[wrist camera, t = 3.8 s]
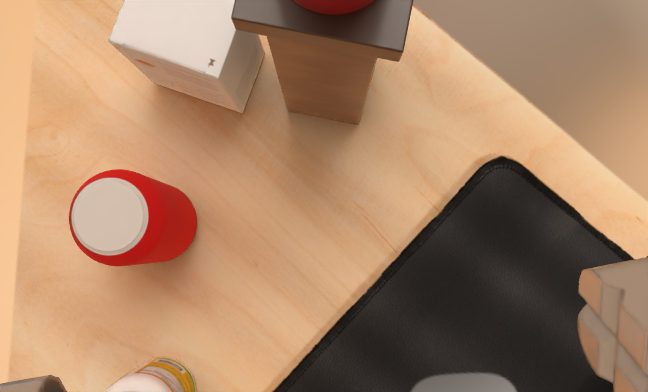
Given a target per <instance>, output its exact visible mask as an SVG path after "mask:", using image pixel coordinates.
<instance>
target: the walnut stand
mask: <svg viewBox="0 0 648 392" xmlns="http://www.w3.org/2000/svg"><path fill="white" fill-rule="evenodd" d="M412 5H413V0H376V1H374V2H373V3H371V4H370V5H368V6H366V7H365V8H363V9H360V10H358V11H355V12H351V13H347V14H340V15H328V14H321V13H317V12H313V11H310V10H308V9H305V8H303V7H302V6H300V5H298V4H297V3H295V2H294V1H293V0H235V2H234V6H233V11H232V15H231V19H232V22H233V24H234V26H235V29H236V30H239V31H245V32H250V33H255V34H260V35H265V36H267V38H268V42H269V46H270V49H271V53H272V56H273V60H274V63H275V67H276V71H277V74H278V78H279V81H280V85H281V89H282V92H283V96H284V99H285V103H286V106H287V110H288V111H291V112H296V113H301V114H306V115H311V116H316V117H321V118H327V119H332V120H337V121H342V122H347V123H352V124H357V125H359V122H360V118H361V115H362V111H363V108H364V104H365V100H366V97H367V93H368V89H369V86H370V82H371V78H372V75H373V71H374V67H375V64H376V60H377V58H381V59H387V60H392V61H397V62H398V61H400V58H401V56H402V53H403V50H404V45H405V40H406V35H407V30H408V25H409V20H410V15H411V10H412Z"/></svg>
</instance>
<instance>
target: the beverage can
mask: <svg viewBox="0 0 648 392" xmlns="http://www.w3.org/2000/svg"><path fill="white" fill-rule="evenodd" d="M69 224H70V230H71V233H72V236H73V238H74V240H75V242H76V244H77V245H78V246H79V248H80V249H81V250H82V251H83V252H84V253H85V254H86V255H87V256H89V257H90V258H92V259H93V260H95V261H97V262H99V263H102V264H106V265H110V266H126V265H136V264H146V263H156V262H164V261H168V260H171V259H174V258H176V257H178V256H179V255H181V254H182V253H183V252H184V251H185V250H186V249H187V248H188V247H189V246H190V244H191V242H192V241H193V239H194V236H195V233H196V228H197V217H196V212H195V209H194V207H193V205H192V203H191V201H190V200H189V198H188V197H187V196H186V195H185V194H184V193H183V192H181V191H180V190H178V189H177V188H175V187H173V186H170V185H167V184H165V183H162V182H160V181H157V180H154V179H152V178H149V177H146V176H144V175H141V174H139V173H136V172H133V171H129V170H109V171H105V172H102V173H99V174H97V175H95V176H93V177H92V178H90V179H89V180H87V181H86V182H85V183H84V184H83V185H82V186H81V187H80V189H79V190H78V191H77V193H76V194H75V196H74V198H73V201H72V203H71V207H70V212H69Z"/></svg>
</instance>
